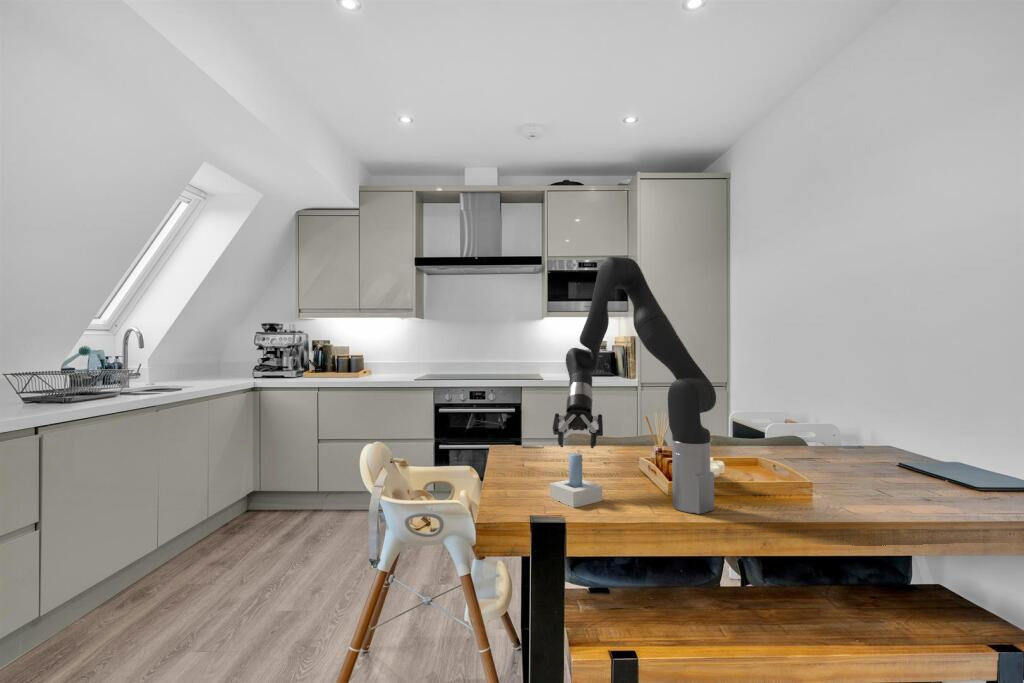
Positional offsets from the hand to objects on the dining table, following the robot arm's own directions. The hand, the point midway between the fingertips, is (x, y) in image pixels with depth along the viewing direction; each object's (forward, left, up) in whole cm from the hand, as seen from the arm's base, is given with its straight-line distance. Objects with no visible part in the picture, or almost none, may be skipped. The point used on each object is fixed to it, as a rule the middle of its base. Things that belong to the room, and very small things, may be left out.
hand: (576, 446), depth 146 cm
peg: (-3, +3, -14) cm, 14 cm away
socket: (-3, +3, -14) cm, 14 cm away
